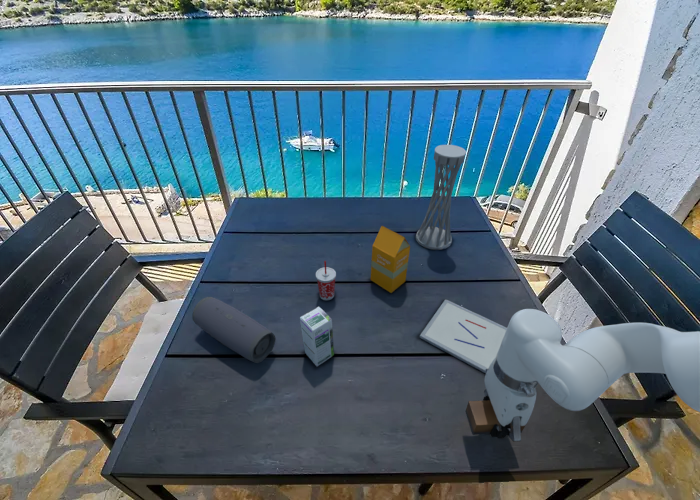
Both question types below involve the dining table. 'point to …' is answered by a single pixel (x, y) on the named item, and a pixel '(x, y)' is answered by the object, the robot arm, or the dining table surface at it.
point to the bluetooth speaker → (234, 329)
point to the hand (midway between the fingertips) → (493, 420)
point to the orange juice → (389, 259)
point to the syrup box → (317, 335)
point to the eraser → (482, 417)
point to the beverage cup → (326, 282)
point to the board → (464, 335)
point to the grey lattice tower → (434, 235)
